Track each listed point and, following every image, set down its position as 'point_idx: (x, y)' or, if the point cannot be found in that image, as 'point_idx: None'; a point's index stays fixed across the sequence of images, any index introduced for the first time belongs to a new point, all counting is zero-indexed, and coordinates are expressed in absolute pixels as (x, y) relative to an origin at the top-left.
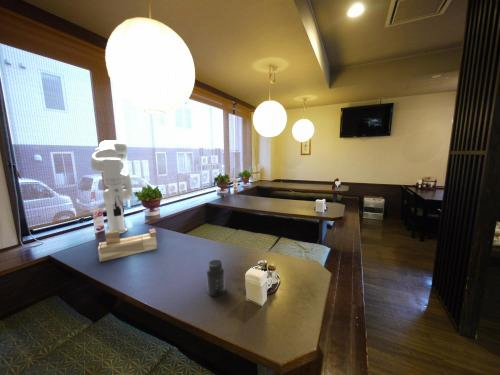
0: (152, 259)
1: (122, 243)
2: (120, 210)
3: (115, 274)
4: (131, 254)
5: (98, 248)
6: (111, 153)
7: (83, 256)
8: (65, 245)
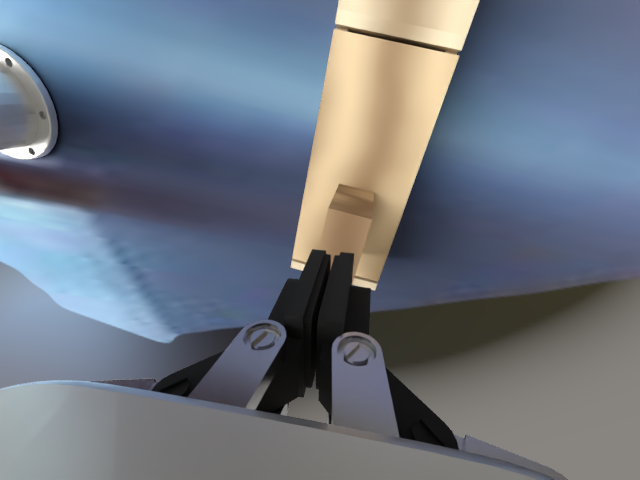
0: (611, 52)
1: (408, 187)
2: (346, 299)
3: (566, 242)
4: None
5: (373, 288)
6: None
7: (267, 280)
8: (110, 298)
